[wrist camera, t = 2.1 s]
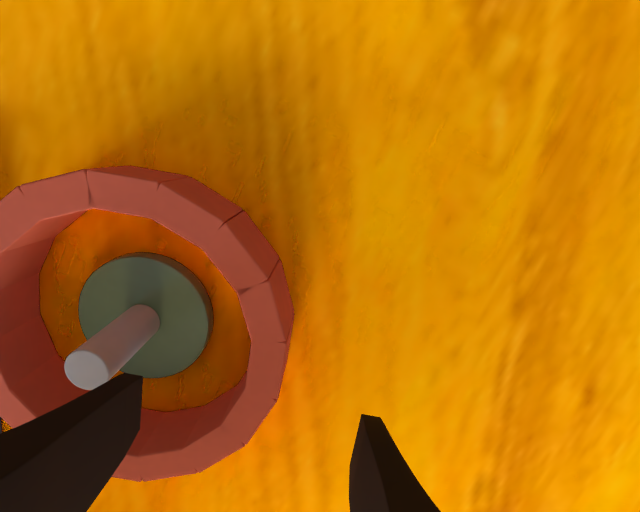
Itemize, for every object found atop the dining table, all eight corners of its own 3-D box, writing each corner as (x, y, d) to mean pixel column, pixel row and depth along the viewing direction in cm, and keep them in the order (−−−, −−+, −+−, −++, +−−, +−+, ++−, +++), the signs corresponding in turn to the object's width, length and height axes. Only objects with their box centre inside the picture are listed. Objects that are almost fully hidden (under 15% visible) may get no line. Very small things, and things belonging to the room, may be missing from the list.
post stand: (207, 379, 19) (165, 455, 15) (87, 358, 19) (5, 427, 15) (219, 264, 18) (176, 307, 13) (89, 241, 18) (-4, 276, 13)
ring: (271, 453, 20) (260, 503, 18) (16, 409, 20) (-37, 452, 17) (313, 197, 17) (308, 207, 14) (4, 143, 17) (-65, 142, 14)
